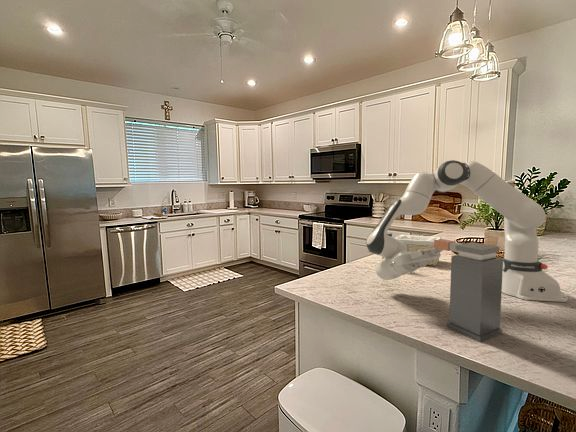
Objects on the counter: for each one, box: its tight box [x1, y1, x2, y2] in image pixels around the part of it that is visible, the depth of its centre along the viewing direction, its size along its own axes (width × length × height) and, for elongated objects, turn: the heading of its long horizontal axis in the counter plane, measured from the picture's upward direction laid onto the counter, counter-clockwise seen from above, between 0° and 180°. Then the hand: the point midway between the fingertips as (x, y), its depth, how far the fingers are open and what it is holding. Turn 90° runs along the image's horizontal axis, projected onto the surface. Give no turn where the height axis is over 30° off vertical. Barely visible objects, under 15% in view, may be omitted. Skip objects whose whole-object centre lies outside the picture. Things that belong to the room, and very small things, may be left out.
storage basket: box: [394, 234, 442, 266], centre depth 180 cm, size 24×16×15 cm
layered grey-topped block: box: [434, 238, 500, 262], centre depth 100 cm, size 18×8×24 cm, turn 26°
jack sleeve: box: [446, 254, 504, 343], centre depth 96 cm, size 11×11×24 cm
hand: (431, 250), depth 110 cm, fingers open, 8 cm apart
